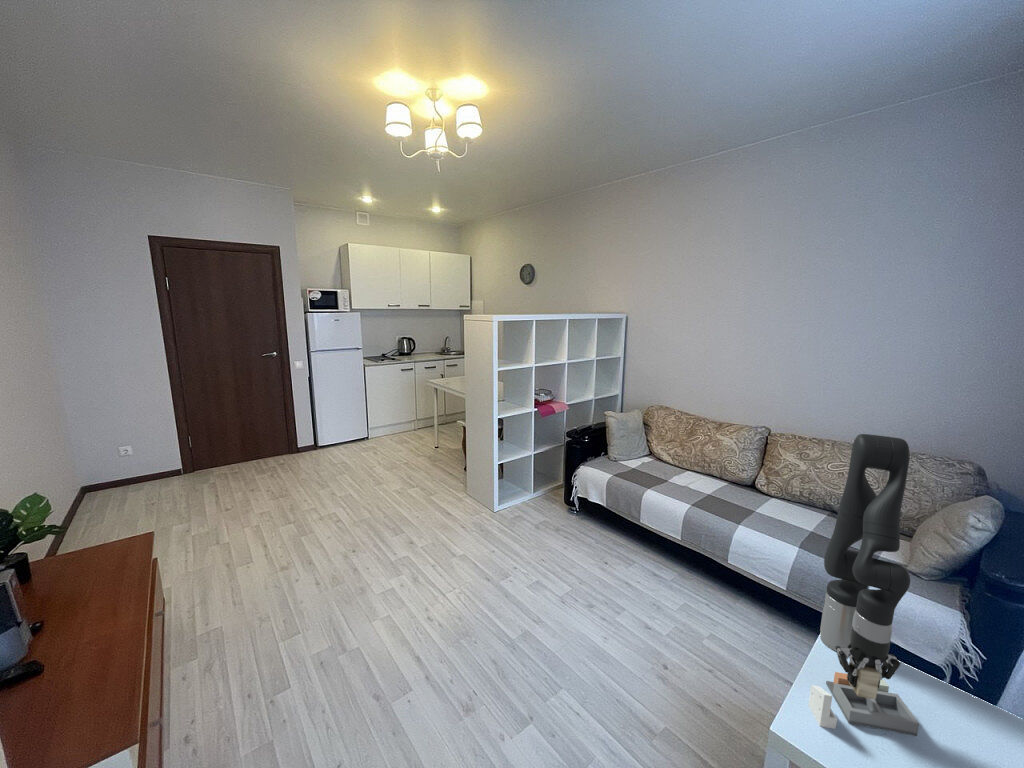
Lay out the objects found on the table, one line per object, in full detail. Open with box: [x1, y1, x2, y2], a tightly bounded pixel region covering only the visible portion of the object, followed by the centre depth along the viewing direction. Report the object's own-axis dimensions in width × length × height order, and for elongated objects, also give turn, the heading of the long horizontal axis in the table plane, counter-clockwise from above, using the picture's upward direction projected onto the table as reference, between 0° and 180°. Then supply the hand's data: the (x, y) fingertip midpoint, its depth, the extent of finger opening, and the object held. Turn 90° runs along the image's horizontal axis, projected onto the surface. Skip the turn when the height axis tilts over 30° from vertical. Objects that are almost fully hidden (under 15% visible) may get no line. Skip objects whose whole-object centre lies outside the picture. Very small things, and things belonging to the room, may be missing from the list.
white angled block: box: [808, 684, 838, 730], centre depth 105 cm, size 4×10×9 cm, turn 168°
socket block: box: [825, 671, 920, 737], centre depth 108 cm, size 12×15×5 cm
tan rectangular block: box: [850, 666, 880, 699], centre depth 105 cm, size 4×4×8 cm
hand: (862, 685), depth 106 cm, fingers closed on tan rectangular block, 4 cm apart
